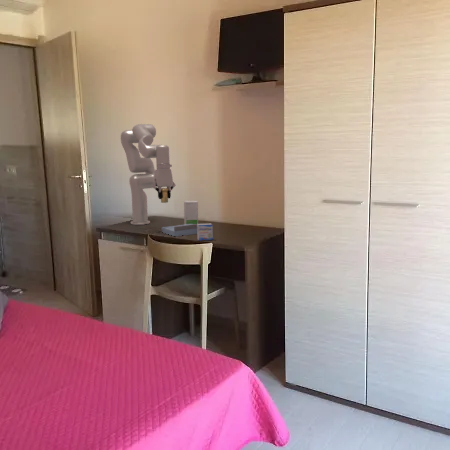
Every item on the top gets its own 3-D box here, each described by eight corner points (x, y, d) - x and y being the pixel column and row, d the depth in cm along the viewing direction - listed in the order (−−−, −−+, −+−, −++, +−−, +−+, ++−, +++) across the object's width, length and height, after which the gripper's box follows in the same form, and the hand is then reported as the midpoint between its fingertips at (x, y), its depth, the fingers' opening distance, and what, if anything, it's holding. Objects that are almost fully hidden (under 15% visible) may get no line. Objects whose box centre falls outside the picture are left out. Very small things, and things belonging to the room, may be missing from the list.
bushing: (158, 202, 302) (158, 188, 301) (166, 201, 305) (166, 187, 304) (162, 203, 298) (161, 189, 297) (170, 202, 301) (170, 188, 299)
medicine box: (198, 241, 278) (198, 225, 276) (197, 239, 282) (196, 223, 281) (213, 240, 280) (212, 224, 278) (211, 238, 284) (211, 222, 282)
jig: (161, 232, 303) (161, 223, 302) (191, 228, 314) (191, 219, 313) (174, 236, 290) (173, 227, 289) (205, 232, 300) (205, 223, 299)
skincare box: (185, 227, 318) (184, 202, 316) (184, 225, 325) (183, 200, 322) (198, 226, 320) (198, 201, 317) (197, 224, 326) (196, 200, 324)
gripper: (173, 166, 306) (174, 196, 309) (146, 167, 297) (148, 199, 300) (179, 166, 299) (180, 197, 302) (152, 167, 291) (153, 200, 294)
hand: (164, 198), depth 301 cm, fingers closed on bushing, 4 cm apart
